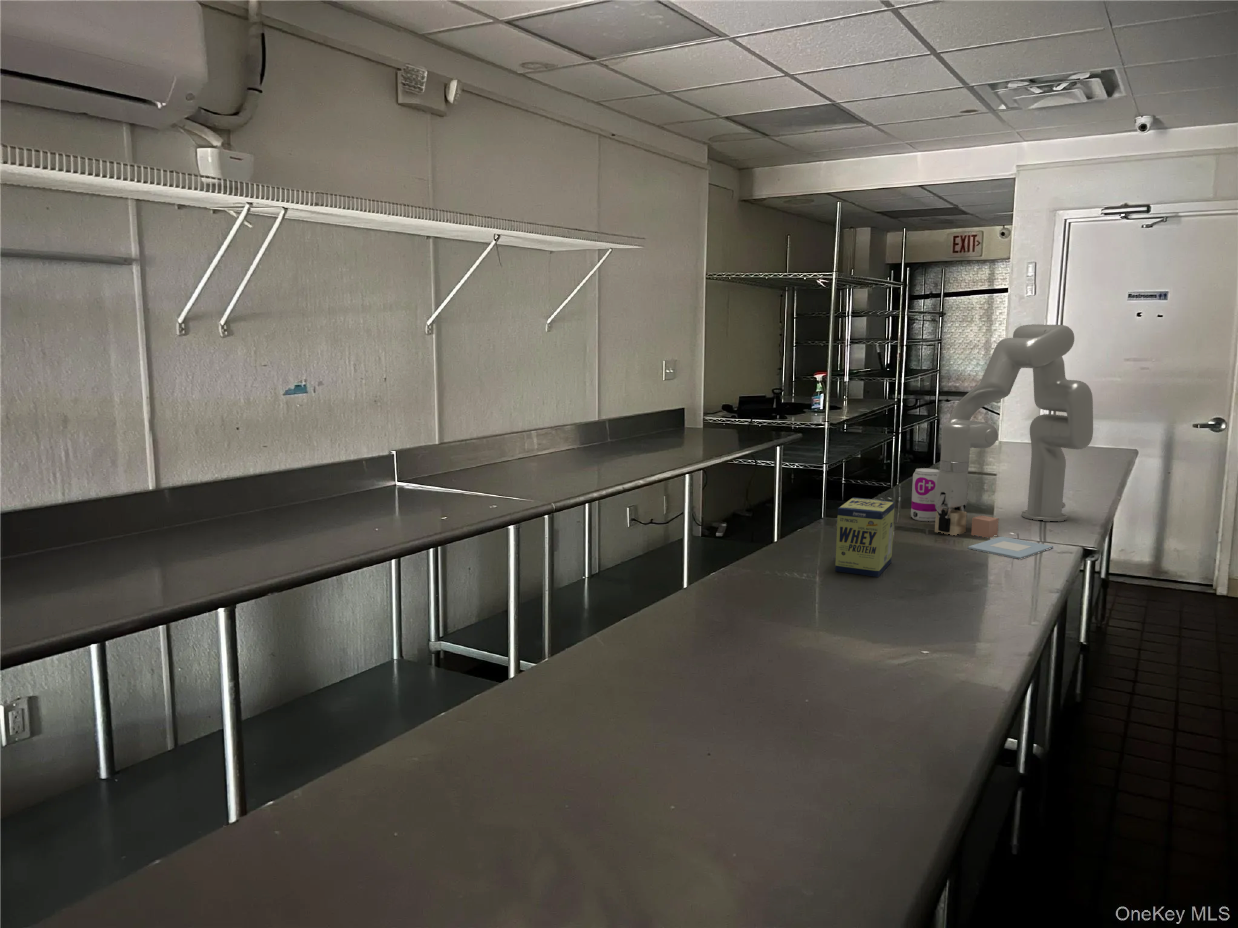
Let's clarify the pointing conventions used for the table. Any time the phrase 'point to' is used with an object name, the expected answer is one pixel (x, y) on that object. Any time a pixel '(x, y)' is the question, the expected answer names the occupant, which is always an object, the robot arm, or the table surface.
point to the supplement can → (924, 494)
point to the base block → (954, 522)
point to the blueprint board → (1010, 547)
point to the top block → (984, 526)
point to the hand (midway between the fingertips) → (950, 529)
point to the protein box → (864, 536)
